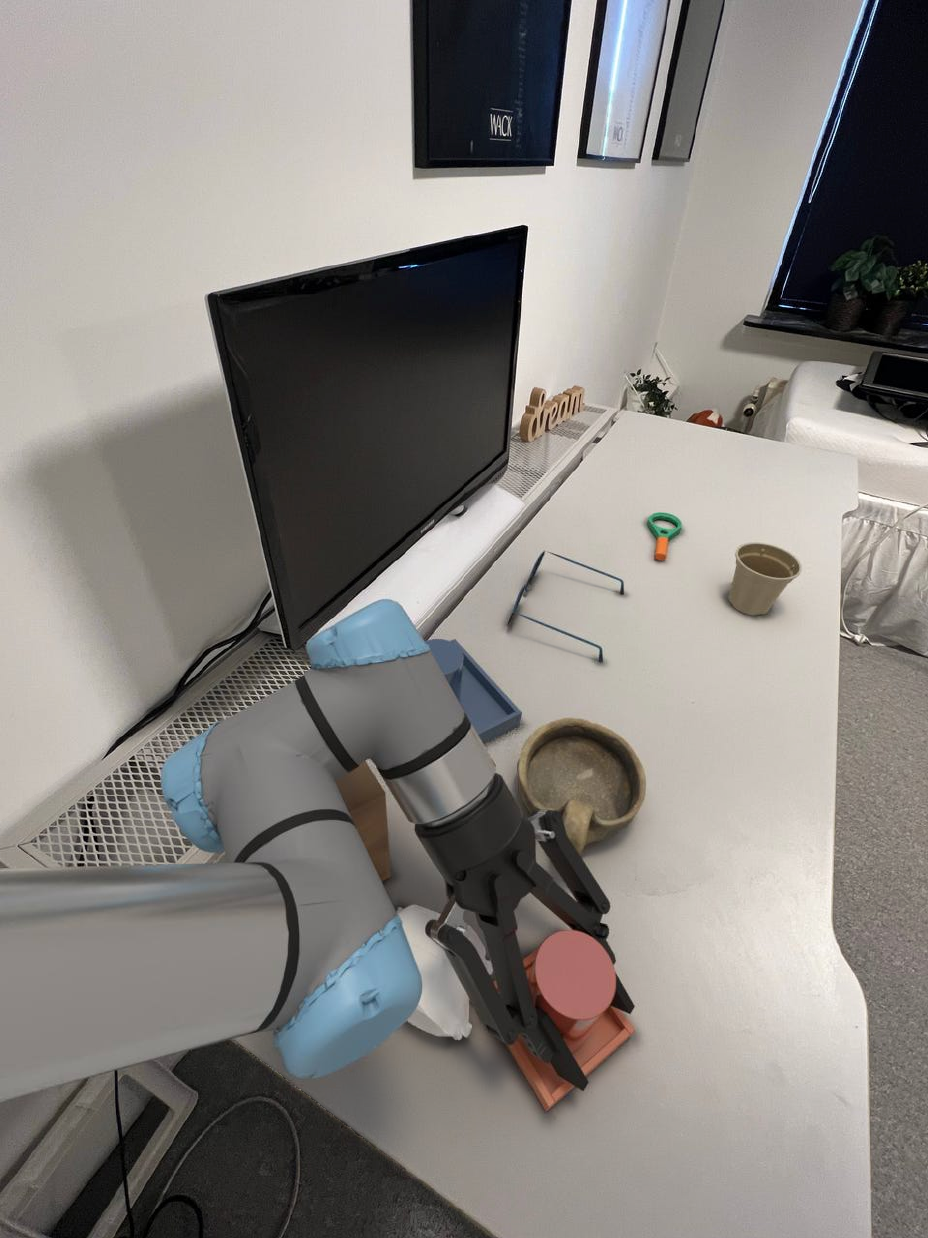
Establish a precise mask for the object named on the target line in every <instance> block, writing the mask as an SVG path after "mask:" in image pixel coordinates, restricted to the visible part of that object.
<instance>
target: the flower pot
mask: <svg viewBox="0 0 928 1238" xmlns="http://www.w3.org/2000/svg"><path fill="white" fill-rule="evenodd" d="M734 556H735V569H734V572H733V573H734V574H733V577H732V581H731V586H730V590H729V593H728V602H729V603H730V604H731V605H732V606H733V608H734V610H737V611H738V612H740V613H742V614H745V615H749V616H754V617H755V616H758V615H765V614H767V613H769V611H770V609H771V608H772V606H773V605H774V604H775V602H776V601H777V600H778V598H779V597H780V595H781V594H782V593H783V592H784V590H785V589H786V587H787V586H788V585H789V584H790V583H791V582H793V580H794V579H796V578H798V576H800V575H801V573H802V570H803V568H802V567H803V566H802V563H801V562H800V561H799V559H798V558H797V557H796V556H795V555H793V554H792V553H791V552H789V551H788V550H786V549H784V548H782V547H780V546H776V545H774V544H770V543H765V542H756V541H755V542H747V543H746V542H745V543H742V544H741V545H739V546H738V547H737V548H736V550H735V554H734Z"/></svg>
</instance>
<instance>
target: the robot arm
mask: <svg viewBox="0 0 928 1238" xmlns="http://www.w3.org/2000/svg"><path fill="white" fill-rule="evenodd" d="M424 641H425V640H424V638H423V637H422V635H421V634H420V632H419V631H418V629H417V628H416V626H415V624H414V623H413V621H412V620H411V618H410V617H409V615H408V613H407V612H406V610H405V609H404V607H403V605H401V603H399V602H398V601H396V600H393V599H391V598H381V599H378V600H376V601H373V602H371V603H370V604H368V605H366V606H363V607H362V608H360V609H358V610H356V611H354V612H353V613H351V614H349V615H347V616H345V617H344V618H342V619H340V620H339V621H337V622H335V623H334V624H333V625H331V626H328V627H327V628H325V629H323V630H322V631H320V632H318V633H316V634H315V635H313V636H312V637H311V638H310V639H308V640H307V642H306V645H305V651H306V653H307V655H308V658H309V664H310V665H311V668H310V669H308V670H306V671H305V672H303V675H301V676H300V677H298V678H296V679H295V680H294V681H291V682H289V683H288V684H286V685H284V686H283V687H281V688H279V689H277V690H275V691H274V692H272V693H270V694H269V695H267V696H265V697H263V698H261V699H260V700H258V701H256V702H254V703H252V704H251V705H249V706H247V707H245V708H243V709H242V710H240V711H238V712H236V713H235V714H233V715H231V716H229V717H227V718H226V719H223V720H219V721H216V722H215V723H213V724H211V725H210V726H209V727H208V728H207V729H206V730H204V731H202V732H201V733H199V734H198V735H197V736H195V737H193V738H192V739H190V740H188V741H187V743H186V744H184V745H182V746H181V747H180V748H178V749H177V750H175V751H174V752H172V753H171V754H170V755H169V756H168V757H167V758H166V759H165V761H164V763H163V765H162V768H161V770H160V771H161V772H160V789H161V793H162V796H163V800H164V802H165V804H166V805H167V806H168V808H169V809H170V811H171V814H172V815H171V816H172V817H171V818H172V820H173V822H174V824H175V825H176V826H177V827H178V830H179V831H180V832H181V834H182V835H183V836H184V837H185V838H186V839H187V840H188V841H189V842H190V843H191V845H193V846H194V847H195V848H198V849H199V850H201V851H202V852H205V853H208V854H218V853H221V852H223V851H224V854H225V857H226V861H227V862H211V863H210V862H209V863H208V862H207V863H206V862H205V863H171V864H170V863H169V864H167V863H165V864H163V863H162V864H131V865H130V864H129V865H128V864H126V865H123V864H122V865H91V866H87V865H86V866H85V865H84V866H53V867H52V866H50V867H49V866H46V867H43V866H42V867H10V868H9V867H8V868H7V867H5V868H3V867H2V868H0V1103H2V1102H6V1101H9V1100H13V1099H16V1098H20V1097H25V1096H27V1095H28V1096H29V1095H31V1094H35V1093H39V1092H43V1091H46V1090H49V1089H54V1088H57V1087H61V1086H64V1085H65V1086H66V1085H68V1084H72V1083H75V1082H80V1081H83V1080H86V1079H90V1078H94V1077H97V1076H102V1075H105V1074H108V1073H113V1072H115V1071H120V1070H123V1069H126V1068H130V1067H134V1066H138V1065H141V1064H142V1065H143V1064H146V1063H149V1062H152V1061H156V1060H161V1059H163V1058H168V1057H172V1056H175V1055H177V1054H182V1053H185V1052H189V1051H192V1050H196V1049H200V1048H203V1047H207V1046H211V1045H215V1044H219V1043H222V1042H226V1041H230V1040H233V1039H237V1038H240V1037H245V1036H248V1035H252V1034H256V1033H263V1032H271V1031H272V1032H273V1047H276V1048H277V1049H278V1051H279V1054H280V1056H281V1059H282V1062H283V1064H284V1067H285V1069H286V1071H287V1072H288V1073H289V1075H291V1076H294V1077H295V1078H297V1079H303V1078H313V1079H318V1078H322V1077H324V1076H328V1075H330V1074H332V1073H334V1072H335V1073H336V1072H337V1071H340V1070H341V1069H344V1068H345V1067H348V1066H349V1065H352V1064H353V1063H354V1062H356V1061H358V1060H359V1059H361V1058H363V1057H364V1056H366V1055H367V1054H369V1053H371V1052H372V1051H373V1050H375V1049H377V1047H379V1046H381V1045H382V1044H383V1043H384V1042H386V1041H387V1040H388V1039H390V1038H391V1037H392V1036H393V1035H394V1034H395V1033H397V1031H398V1030H400V1028H402V1027H403V1025H404V1024H405V1023H406V1022H408V1021H407V1020H408V1019H409V1017H410V1016H411V1015H412V1014H413V1012H414V1011H415V1009H416V1007H417V1005H418V1003H419V1001H420V998H421V994H422V978H421V974H420V972H419V969H418V967H417V964H416V961H415V959H414V956H413V954H412V951H411V948H410V945H409V943H408V940H407V937H406V934H405V932H404V929H403V926H402V923H403V922H402V920H401V919H400V917H399V915H397V913H396V911H397V910H396V908H395V907H394V905H393V903H392V900H391V899H390V896H389V894H388V891H387V890H386V888H385V886H384V883H383V881H381V879H380V877H379V875H378V873H377V871H376V869H375V867H374V865H373V863H372V860H371V858H370V856H369V854H368V852H367V850H366V848H365V846H364V844H363V842H362V839H361V837H360V835H359V833H358V831H357V829H356V826H355V824H354V822H353V820H352V818H351V816H350V814H349V812H348V810H347V807H346V805H345V803H344V801H343V798H342V796H341V794H340V792H339V789H338V787H337V785H336V783H335V782H336V781H338V780H339V779H341V778H342V777H344V776H345V775H347V774H348V773H350V772H351V771H353V770H354V769H356V768H357V767H359V764H361V763H363V762H364V761H366V762H367V760H370V761H371V762H372V763H373V764H374V766H375V767H376V770H377V772H378V773H379V775H380V777H381V778H382V780H383V781H384V783H385V785H386V787H387V788H388V790H389V791H390V793H391V794H392V796H393V798H394V800H395V801H396V803H397V804H398V806H399V808H400V810H401V811H402V813H403V814H404V816H405V818H406V819H407V821H408V822H409V823H411V824H414V828H413V829H414V833H415V835H416V837H417V838H418V840H419V841H420V843H421V845H422V847H423V848H424V850H425V851H426V854H427V855H428V857H429V858H430V860H431V861H432V864H433V865H434V867H435V868H436V869H437V871H438V872H439V874H440V876H441V877H442V879H443V881H444V884H445V893H446V897H447V900H448V901H447V903H446V904H445V906H444V908H443V910H442V912H441V913H440V914H441V915H440V917H439V919H438V920H435V919H431V920H430V921H428V923H427V924H426V927H425V933H426V935H427V936H428V937H429V938H430V939H431V940H433V941H434V942H435V943H436V944H437V945H439V946H440V947H441V948H442V949H443V950H444V951H445V953H446V955H447V957H448V959H449V961H450V963H451V965H452V967H453V969H454V971H455V973H456V974H457V976H458V978H459V980H460V982H461V984H462V986H463V988H464V990H465V992H466V994H467V996H468V997H469V1002H470V1003H471V1005H472V1007H473V1009H474V1011H475V1013H476V1014H477V1017H478V1018H479V1020H480V1022H481V1024H482V1026H483V1028H484V1030H485V1031H486V1033H488V1034H489V1035H491V1036H493V1037H495V1038H496V1039H498V1040H499V1041H500V1042H502V1043H504V1044H505V1045H506V1046H507V1045H513V1044H514V1043H515V1042H516V1040H517V1038H518V1035H520V1036H521V1038H522V1040H523V1041H524V1043H525V1045H526V1046H527V1047H528V1049H529V1051H530V1053H531V1054H533V1055H534V1056H536V1057H537V1058H539V1059H541V1060H542V1061H544V1062H546V1063H547V1064H549V1062H550V1063H551V1065H552V1066H553V1068H554V1070H555V1071H556V1073H557V1075H558V1076H559V1077H561V1078H563V1079H564V1080H566V1081H567V1082H569V1083H571V1084H572V1085H574V1086H575V1087H574V1088H577V1089H578V1090H580V1091H582V1092H584V1091H585V1089H586V1088H587V1086H588V1085H589V1083H590V1081H589V1079H588V1078H587V1076H585V1075H584V1073H583V1071H582V1070H581V1068H580V1066H579V1065H578V1063H577V1061H576V1060H575V1058H574V1056H573V1055H572V1053H571V1051H570V1050H569V1048H568V1046H567V1044H566V1043H565V1041H564V1039H563V1038H562V1036H561V1034H560V1033H559V1031H558V1029H557V1028H556V1026H555V1024H554V1023H553V1021H552V1019H551V1018H550V1016H549V1015H548V1014H547V1013H546V1012H544V1011H542V1010H540V1009H538V1008H537V1007H535V1004H534V1001H533V997H532V993H531V989H530V986H529V982H528V978H527V974H526V970H525V967H524V963H523V959H524V958H523V956H522V951H521V949H520V944H519V941H518V937H517V933H516V931H517V930H518V929H519V927H518V926H519V925H518V923H517V922H518V921H517V918H516V915H515V911H516V910H517V908H518V907H519V904H520V902H521V900H522V899H523V898H524V897H527V895H529V894H531V895H532V896H533V897H534V898H535V899H537V900H538V901H539V902H540V904H542V905H543V906H544V907H546V908H547V909H548V910H549V911H550V912H551V913H553V914H554V915H555V916H556V917H557V918H558V919H559V920H561V922H563V923H564V924H565V925H566V926H568V927H569V929H570V930H576V931H580V932H583V933H585V934H588V935H589V936H591V937H593V938H594V939H595V940H597V941H598V942H599V943H600V944H601V945H602V946H603V948H604V949H605V950H606V952H607V953H608V955H609V957H610V958H611V961H612V963H613V966H614V965H616V962H617V959H616V956H615V952H614V951H613V949H612V948H611V946H610V944H609V942H608V941H607V939H608V937H609V934H610V928H609V926H608V924H607V923H604V922H602V918H603V915H607V914H609V912H610V910H611V902H610V900H609V898H608V897H607V895H606V894H605V892H604V890H603V889H602V888H601V885H600V884H599V883H598V882H597V879H596V878H595V877H594V875H593V874H592V872H591V870H590V869H589V868H588V867H589V866H587V864H586V862H585V861H584V859H583V858H582V857H581V856H582V855H581V856H580V855H579V853H578V852H577V850H576V849H575V847H574V845H573V844H572V842H571V841H570V839H569V838H568V836H567V833H566V830H565V826H564V823H563V819H562V816H561V814H560V812H559V811H556V810H547V809H537V808H536V809H534V810H533V811H532V813H530V817H528V818H525V817H524V816H523V814H522V810H521V807H520V806H519V804H518V802H517V801H516V798H515V797H514V795H513V794H512V792H511V790H510V788H509V786H508V785H507V783H506V781H505V780H504V778H503V776H502V775H501V774H499V773H497V772H496V766H497V764H496V762H495V761H494V759H493V758H492V756H491V754H490V753H489V751H488V749H487V748H486V746H485V744H483V743H482V741H481V739H480V738H479V736H478V734H477V733H476V731H475V729H474V727H473V726H472V724H471V722H470V721H469V719H468V717H467V716H466V714H465V712H464V710H463V708H462V707H461V705H460V703H459V701H458V699H457V698H456V696H455V694H454V692H453V690H452V688H451V687H450V685H449V683H448V681H447V679H446V678H445V676H444V674H443V672H442V670H441V669H440V667H439V665H438V663H437V661H436V660H435V658H434V656H433V654H432V652H431V651H430V647H429V645H427V644H426V643H425V642H424ZM536 841H538V844H539V846H540V847H541V849H542V850H543V852H544V853H545V855H546V856H547V858H548V860H549V861H550V862H551V864H552V865H553V867H554V869H555V870H556V872H557V873H558V875H559V876H560V878H561V880H562V881H563V882H564V884H565V885H566V887H567V888H568V891H569V892H570V894H571V895H572V896H571V895H570V894H569V893H568V892H567V891H565V890H564V889H563V887H561V886H560V885H559V884H558V883H557V882H556V881H554V877H553V876H552V875H551V874H550V873H549V872H548V871H547V870H546V869H545V868H544V867H542V865H540V864H539V863H538V862H537V859H536V858H537V854H536V853H537V851H536V849H537V848H536ZM573 897H574V898H573ZM465 911H467V912H468V911H469V912H472V913H474V916H475V919H476V923H477V925H478V928H479V929H480V930H481V931H482V933H483V936H484V940H485V944H486V949H487V952H488V956H489V960H490V961H491V964H492V967H493V974H494V979H495V980H496V983H497V987H498V990H499V992H498V991H497V989H496V987H495V985H494V983H493V982H494V981H493V979H492V977H491V975H489V973H488V971H487V969H486V967H485V965H484V963H483V961H482V960H481V958H480V956H479V954H478V952H477V950H476V948H475V947H474V945H473V944H472V943H471V942H470V941H469V940H468V939H467V937H468V936H469V930H468V929H467V925H466V924H467V923H466V922H465V920H464V914H465ZM465 923H466V924H465ZM615 974H616V990H615V994H614V997H613V1000H612V1002H611V1004H610V1006H613V1007H615V1008H617V1009H619V1010H621V1011H622V1012H623V1013H626V1014H628V1015H631V1014H632V1013H633V1011H634V1009H635V1007H636V1006H635V1003H634V1002H633V1000H632V998H631V997H630V995H629V993H628V992H627V990H626V988H625V986H624V984H623V983H622V981H621V979H620V977H619V975H618V974H617V972H616V971H615Z"/></svg>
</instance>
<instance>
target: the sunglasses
mask: <svg viewBox="0 0 928 1238" xmlns="http://www.w3.org/2000/svg"><path fill="white" fill-rule="evenodd" d="M546 553H549V554H551V555H553V556H555V557H558V558H560V559H563V560H565V561H567V562H570V563H572V564H575V565H577V566H580V567H582V568H586V569H587V570H591V571H593V572H596V573H597V574H598V573H599V574H601V575H603V576H606V577H609V578H612V579H614V580H616V581H618V582H620V591H619V594H620V595H622V596H623V595H625V584H624V583H625V582H624V580H623V579H622V578H619V577H618V576H615V575H612V574H609V573H608V572H604V571H602V570H599V569H598V568H597V569H596V568H594V567H591V566H589V565H586V564H584V563H581V562H579V561H576V560H573V559H570V558H568V557H566V556H562V555H560V554H556V553H554V552H551V551H546V550H543V551H542V552H541V553H540V554H539V556H538V558H537V559H536V561H535V562H534V565H533V567H532V569H531V572H530V574H529V577H528V580H527V582H526V584H524V585H523V586H522V587H521V589H520V591H519V593H518V595H517V597H516V600H515V603H514V606H513V609H512V612H511V614H510V617H509V618H508V621H507V623H506V624H507V625H506V626H507V627H509V625H510V624H511V621H512V620H513V617H514V616H515V614H517V615H518V616H520V617H522V618H524V619H526V620H529V621H532V622H533V623H536V624H538V625H541V626H543V627H546V628H549V629H551V630H552V631H556V632H558V633H560V634H563V635H565V636H568V637H571V638H572V639H576V640H578V641H580V642H582V643H585V644H587V645H590V646H593V647H594V648H597V649H599V653H598V662H599V663H603V662H604V654H603V647H601V645H598V644H596V643H594V642H591V641H589V640H587V639H585V638H582V637H579V636H577V635H574V634H572V633H570V632H567V631H564V630H562V629H560V628H558V627H554V626H552V625H551V624H548V623H545V622H542V621H540V620H537V619H534V618H532V617H529V616H528V615H527V616H526V615H523V614H521V613H519V612H518V613H517V612H516V611H517V609H518V607H519V604H520V602H521V600H522V597H523V598H527V597H528V594H529V592H528V591H530V590H531V588H532V586H531V583H532V581H533V579H534V577H535V575H536V574H537V571H538V570H539V567H540V565H541V563H542V561H543V558H544V556H545V554H546Z"/></svg>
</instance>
